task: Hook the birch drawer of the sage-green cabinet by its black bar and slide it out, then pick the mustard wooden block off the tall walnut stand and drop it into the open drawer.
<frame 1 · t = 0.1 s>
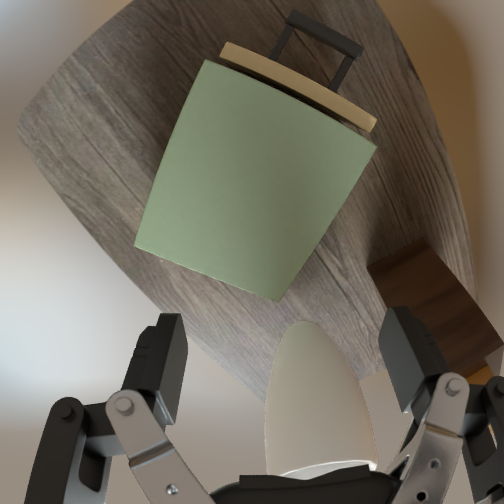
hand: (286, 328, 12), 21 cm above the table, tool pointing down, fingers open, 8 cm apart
cabinet: (248, 161, 29), on the table
drawer: (273, 125, 23), point 5 cm above the table, slide at 0.5 cm
block: (466, 388, 21), point 18 cm above the table, touching stand
cup: (300, 316, 39), on the table
stand: (402, 275, 36), on the table
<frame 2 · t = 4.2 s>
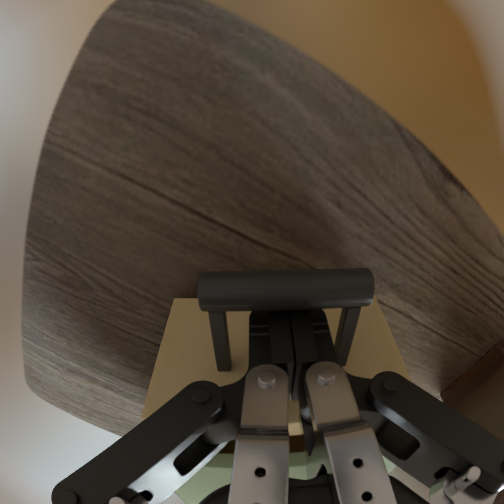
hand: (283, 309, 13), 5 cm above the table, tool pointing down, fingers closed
cabinet: (271, 387, 23), on the table
drawer: (277, 399, 16), point 5 cm above the table, slide at 1.7 cm, touching gripper
cup: (384, 440, 31), on the table
stand: (481, 376, 25), on the table
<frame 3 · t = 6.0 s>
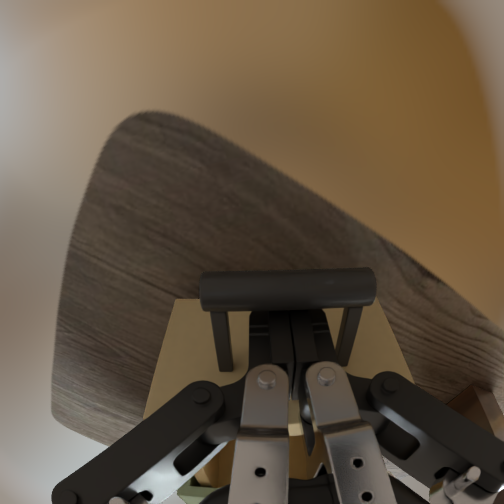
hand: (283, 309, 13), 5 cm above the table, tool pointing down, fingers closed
cabinet: (271, 424, 26), on the table
drawer: (279, 399, 16), point 5 cm above the table, slide at 8.1 cm
stand: (458, 408, 28), on the table
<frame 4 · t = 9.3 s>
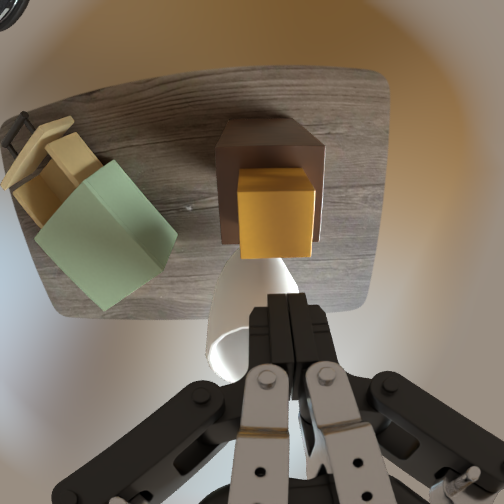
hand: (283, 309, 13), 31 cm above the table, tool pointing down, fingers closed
cabinet: (117, 221, 44), on the table
drawer: (50, 171, 34), point 5 cm above the table, slide at 8.2 cm
block: (271, 197, 23), point 18 cm above the table, touching stand
cup: (254, 243, 46), on the table
stand: (261, 148, 39), on the table
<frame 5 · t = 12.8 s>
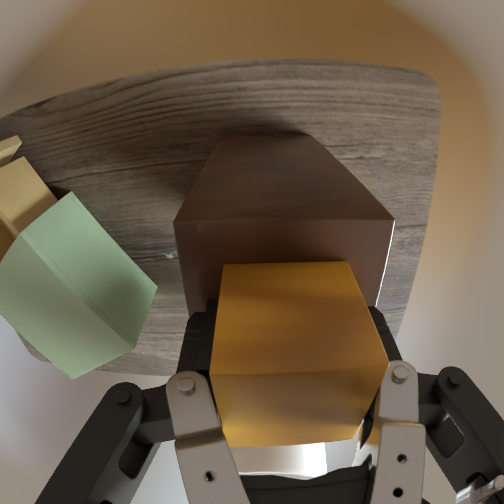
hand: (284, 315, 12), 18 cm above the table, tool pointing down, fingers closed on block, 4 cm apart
cabinet: (83, 267, 33), on the table
block: (284, 309, 13), point 18 cm above the table, touching gripper, stand
cup: (255, 299, 35), on the table
stand: (267, 177, 28), on the table
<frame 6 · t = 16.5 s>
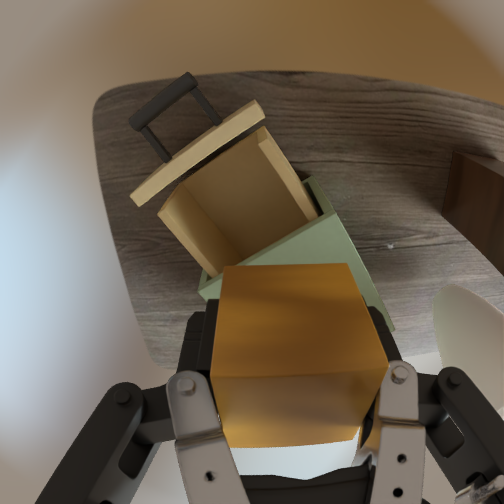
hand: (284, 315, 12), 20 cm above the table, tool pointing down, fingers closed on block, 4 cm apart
cabinet: (295, 257, 35), on the table
drawer: (226, 181, 25), point 5 cm above the table, slide at 8.2 cm
block: (284, 311, 13), point 20 cm above the table, touching gripper
cup: (436, 284, 37), on the table
stand: (471, 186, 30), on the table
when the fingers open (8 cm above the table, at t = 20.2 s): block drops 5 cm, resting on drawer.
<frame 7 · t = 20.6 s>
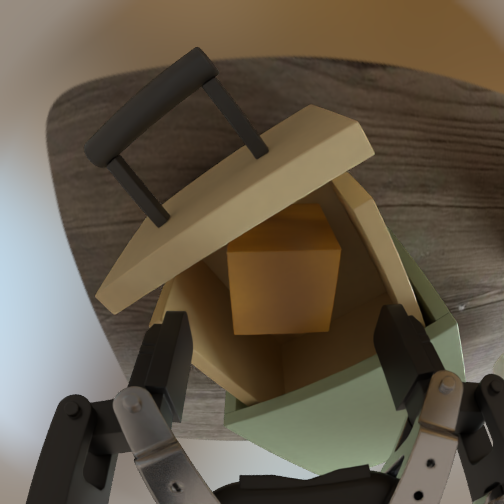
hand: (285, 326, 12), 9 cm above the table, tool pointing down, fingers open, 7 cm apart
cabinet: (348, 331, 24), on the table
drawer: (268, 254, 15), point 5 cm above the table, slide at 8.2 cm, touching block
block: (276, 241, 18), point 2 cm above the table, touching drawer
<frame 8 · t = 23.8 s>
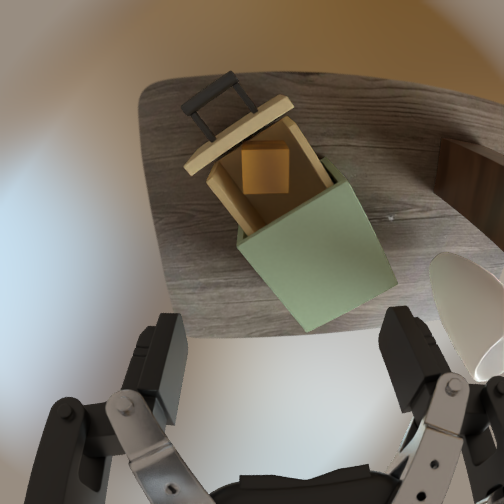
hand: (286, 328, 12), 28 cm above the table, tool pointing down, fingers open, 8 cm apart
cabinet: (311, 227, 41), on the table
drawer: (259, 158, 31), point 5 cm above the table, slide at 8.2 cm, touching block
block: (263, 160, 34), point 2 cm above the table, touching drawer
cup: (432, 254, 43), on the table
stand: (458, 168, 35), on the table
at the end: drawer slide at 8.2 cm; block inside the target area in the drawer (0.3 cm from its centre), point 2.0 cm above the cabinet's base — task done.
